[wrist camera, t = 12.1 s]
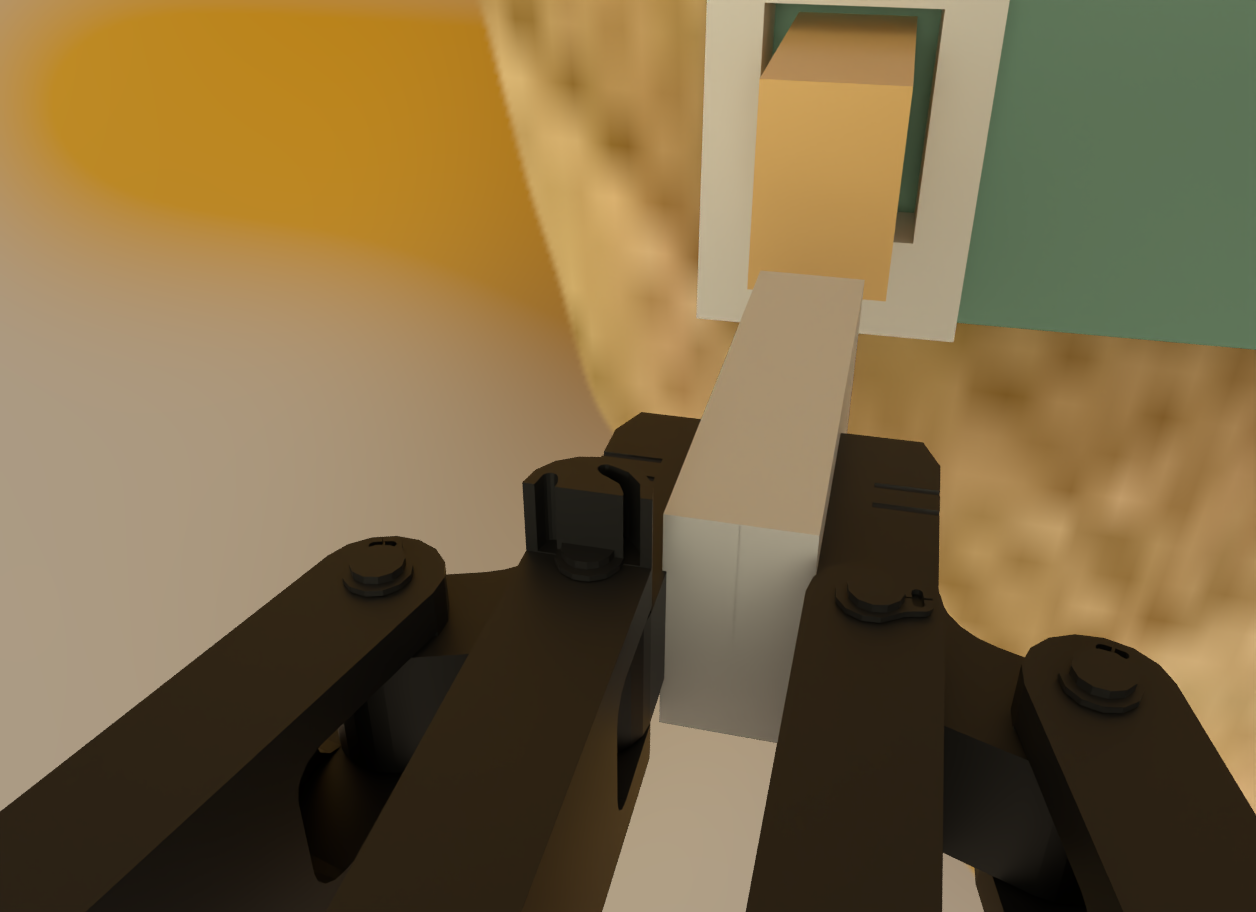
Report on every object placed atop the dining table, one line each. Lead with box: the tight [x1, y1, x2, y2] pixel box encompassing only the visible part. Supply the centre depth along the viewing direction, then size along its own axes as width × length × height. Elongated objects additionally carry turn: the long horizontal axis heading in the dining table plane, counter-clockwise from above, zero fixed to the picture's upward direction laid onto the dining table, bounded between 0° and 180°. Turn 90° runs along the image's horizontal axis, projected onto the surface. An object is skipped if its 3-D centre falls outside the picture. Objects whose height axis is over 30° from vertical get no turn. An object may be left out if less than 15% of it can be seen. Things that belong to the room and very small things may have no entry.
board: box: [696, 0, 1256, 350], centre depth 28 cm, size 21×12×4 cm, turn 90°
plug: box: [747, 12, 917, 301], centre depth 27 cm, size 3×5×8 cm, turn 0°
